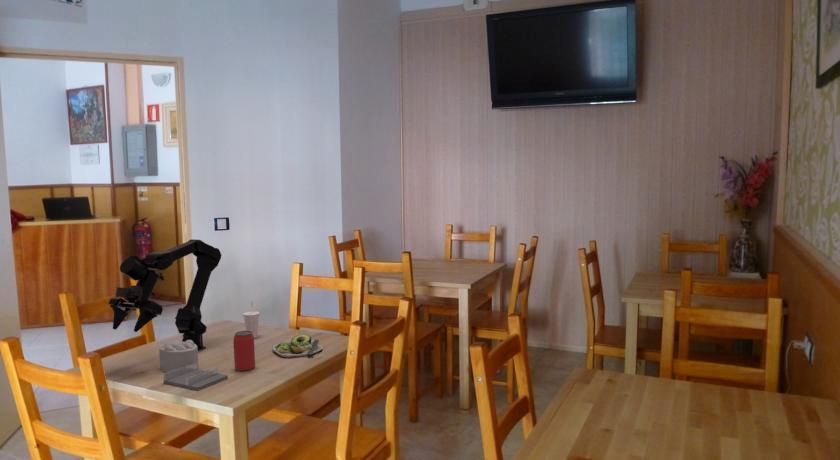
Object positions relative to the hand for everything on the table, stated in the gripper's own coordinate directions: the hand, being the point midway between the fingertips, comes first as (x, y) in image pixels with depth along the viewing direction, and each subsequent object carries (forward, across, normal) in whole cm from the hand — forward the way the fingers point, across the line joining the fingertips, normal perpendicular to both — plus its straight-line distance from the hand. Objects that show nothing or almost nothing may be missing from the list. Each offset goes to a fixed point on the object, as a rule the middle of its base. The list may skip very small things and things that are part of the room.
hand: (124, 330), depth 199 cm
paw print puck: (+5, +12, +18) cm, 22 cm away
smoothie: (-18, +10, +50) cm, 54 cm away
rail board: (+10, +26, +11) cm, 30 cm away
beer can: (+1, +33, +24) cm, 40 cm away
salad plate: (-13, +38, +43) cm, 58 cm away
